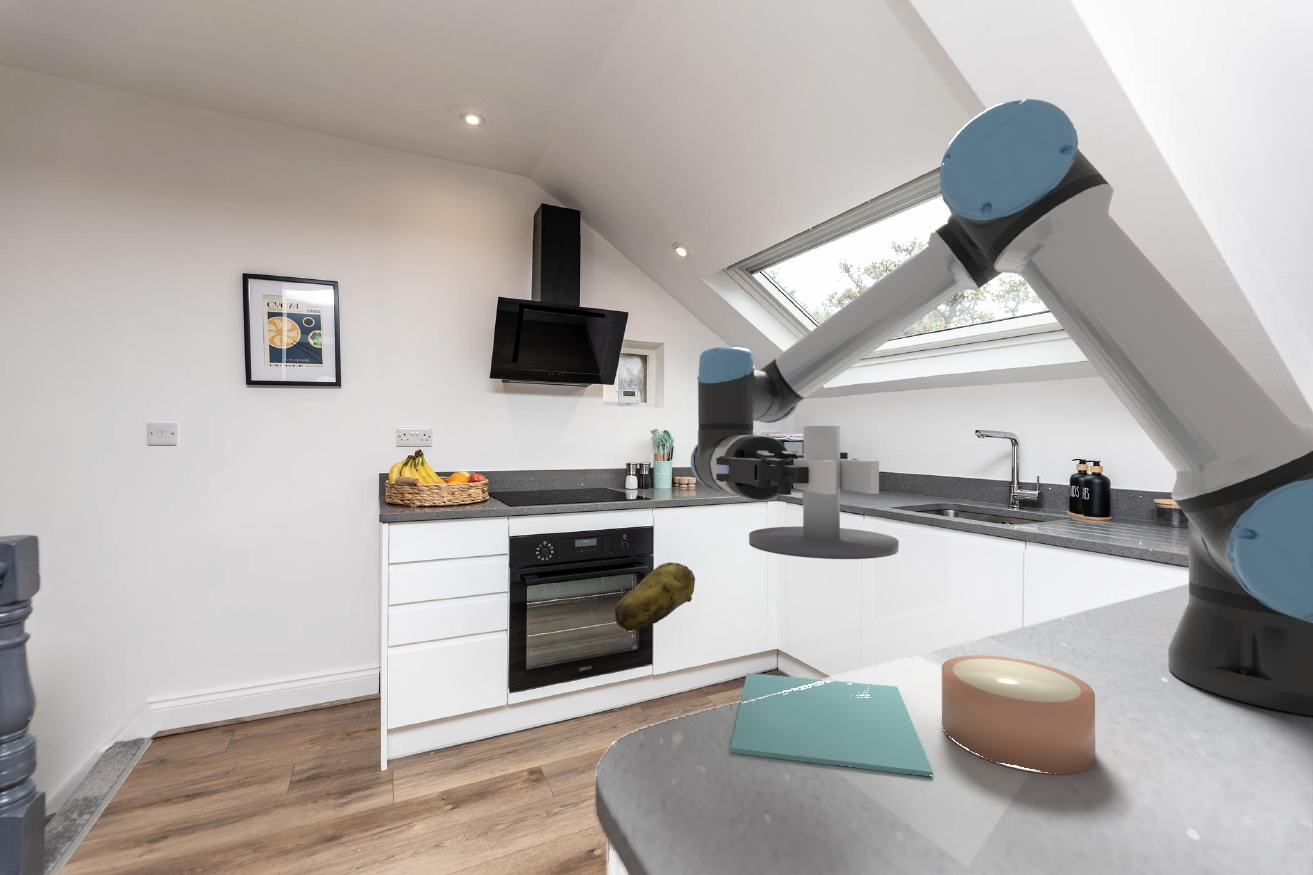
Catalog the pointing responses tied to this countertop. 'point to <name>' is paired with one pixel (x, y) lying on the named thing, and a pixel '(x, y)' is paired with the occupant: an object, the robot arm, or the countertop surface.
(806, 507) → the lid
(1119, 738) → the countertop surface
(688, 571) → the potato
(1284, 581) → the robot arm
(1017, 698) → the orange bowl
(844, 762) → the mat
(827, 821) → the countertop surface
